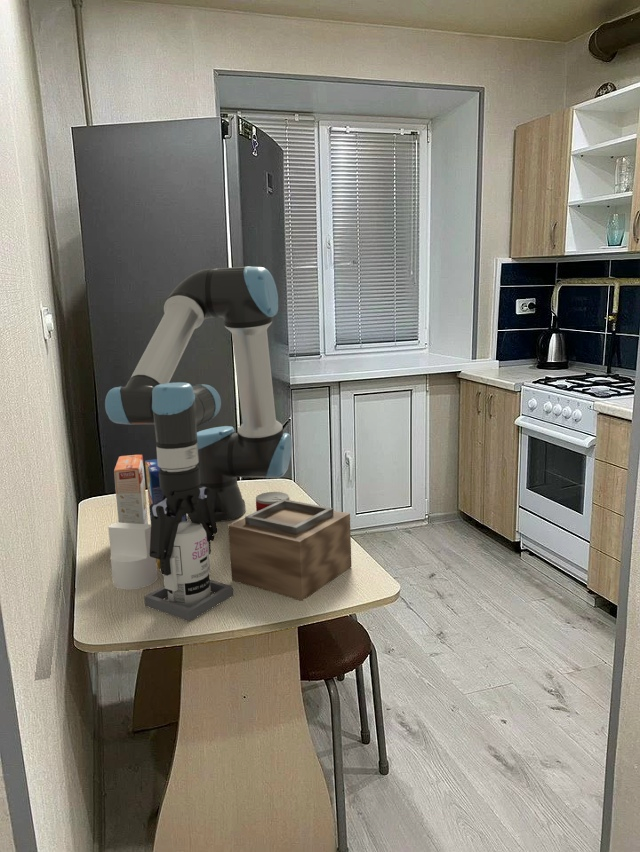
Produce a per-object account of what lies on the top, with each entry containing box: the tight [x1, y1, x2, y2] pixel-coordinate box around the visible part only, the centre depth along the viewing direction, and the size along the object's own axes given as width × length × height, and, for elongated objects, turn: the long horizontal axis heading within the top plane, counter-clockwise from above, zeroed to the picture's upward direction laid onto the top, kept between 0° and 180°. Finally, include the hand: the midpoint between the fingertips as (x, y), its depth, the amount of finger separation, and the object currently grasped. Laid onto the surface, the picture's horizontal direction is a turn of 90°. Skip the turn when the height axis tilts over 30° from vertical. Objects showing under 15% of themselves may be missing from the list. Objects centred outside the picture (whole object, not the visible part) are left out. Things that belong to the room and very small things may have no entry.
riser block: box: [227, 499, 353, 601], centre depth 137 cm, size 18×18×14 cm
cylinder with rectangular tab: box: [107, 521, 159, 590], centre depth 137 cm, size 9×9×12 cm
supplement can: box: [165, 520, 212, 608], centre depth 126 cm, size 8×8×15 cm
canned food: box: [255, 491, 290, 512], centre depth 156 cm, size 8×8×11 cm
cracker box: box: [113, 454, 149, 524], centre depth 154 cm, size 14×6×21 cm, turn 12°
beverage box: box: [144, 458, 188, 571], centre depth 146 cm, size 7×11×22 cm, turn 20°
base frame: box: [143, 578, 235, 622], centre depth 127 cm, size 12×12×2 cm
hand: (188, 580), depth 127 cm, fingers closed on supplement can, 8 cm apart
